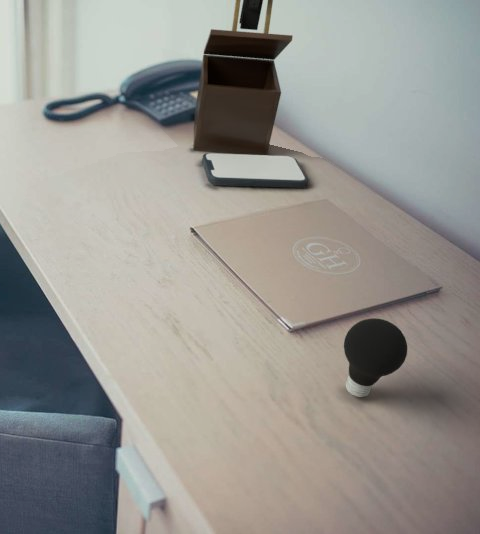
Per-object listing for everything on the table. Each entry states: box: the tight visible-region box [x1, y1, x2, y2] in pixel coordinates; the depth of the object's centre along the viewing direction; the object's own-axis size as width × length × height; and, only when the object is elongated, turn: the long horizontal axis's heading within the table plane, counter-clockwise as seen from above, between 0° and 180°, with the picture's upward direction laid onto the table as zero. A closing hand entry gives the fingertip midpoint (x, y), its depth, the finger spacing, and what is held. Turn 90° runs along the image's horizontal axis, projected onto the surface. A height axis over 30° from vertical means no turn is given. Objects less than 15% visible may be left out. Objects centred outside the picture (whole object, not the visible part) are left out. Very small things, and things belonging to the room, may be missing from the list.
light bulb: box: [343, 318, 408, 398], centre depth 66 cm, size 6×6×10 cm
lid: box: [203, 0, 293, 61], centre depth 107 cm, size 15×13×9 cm
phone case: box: [201, 152, 308, 189], centre depth 106 cm, size 9×2×16 cm
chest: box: [192, 54, 282, 155], centre depth 114 cm, size 15×13×12 cm
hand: (248, 25), depth 105 cm, fingers closed on lid, 2 cm apart
